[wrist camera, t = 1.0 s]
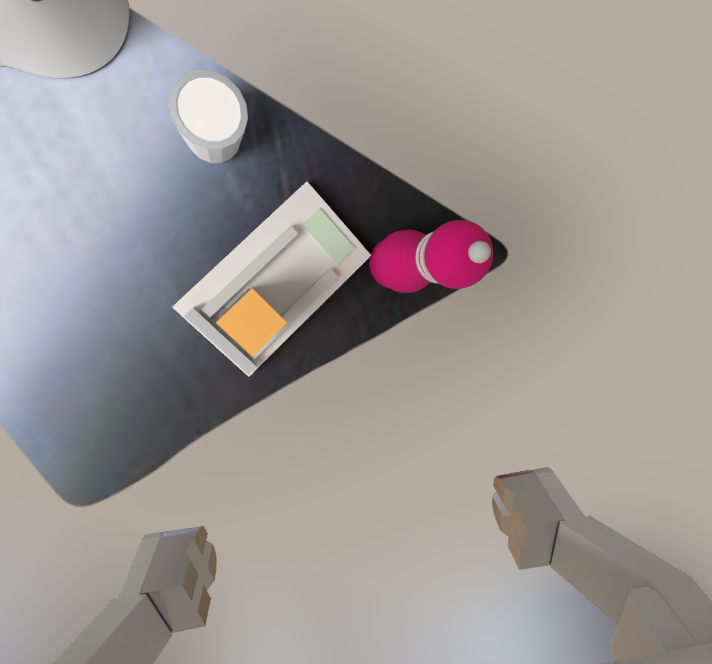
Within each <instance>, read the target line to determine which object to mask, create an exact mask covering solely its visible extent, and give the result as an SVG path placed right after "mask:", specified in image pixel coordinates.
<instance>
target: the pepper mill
mask: <svg viewBox="0 0 712 664" xmlns="http://www.w3.org/2000/svg"><path fill="white" fill-rule="evenodd" d="M492 259H493V247H492V242H491V240H490V238H489V236H488V234H487V233H486V232H485V231H484V230H483V229H482V228H481V227H480V226H479V225H477V224H475V223H473V222H470V221H466V220H455V221H451V222H447V223H445V224H443V225H441V226H440V227H439V228H437V229H436V230H435V231H434V232H432V233H429V234H427V235H426V234H424V233H421V232H419V231H416V230H400V231H396V232H394V233H392V234H390V235H389V236H388V237H386V238H385V239H384V240H383V241H381V242H379V243H378V244H377V245H376V246H375V247H374V249H373V251H372V253H371V256H370V261H369V265H370V270H371V273H372V275H373V277H374V279H375V280H376V281H377V282H378V283H379V284H380V285H382V286H384V287H387V288H390V289H392V290H394V291H397V292H401V293H409V292H415V291H418V290H420V289H422V288H424V287H425V286H427V285H428V284H429V283H430V282H433V283H439V284H440V285H443V286H445V287H448V288H454V289H460V288H466V287H469V286H472V285H473V284H475V283H477V282H478V281H480V280H481V279H482V278H483V277H484V276H485V275H486V274H487V272H488V270H489V269H490V267H491V264H492Z"/></svg>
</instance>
